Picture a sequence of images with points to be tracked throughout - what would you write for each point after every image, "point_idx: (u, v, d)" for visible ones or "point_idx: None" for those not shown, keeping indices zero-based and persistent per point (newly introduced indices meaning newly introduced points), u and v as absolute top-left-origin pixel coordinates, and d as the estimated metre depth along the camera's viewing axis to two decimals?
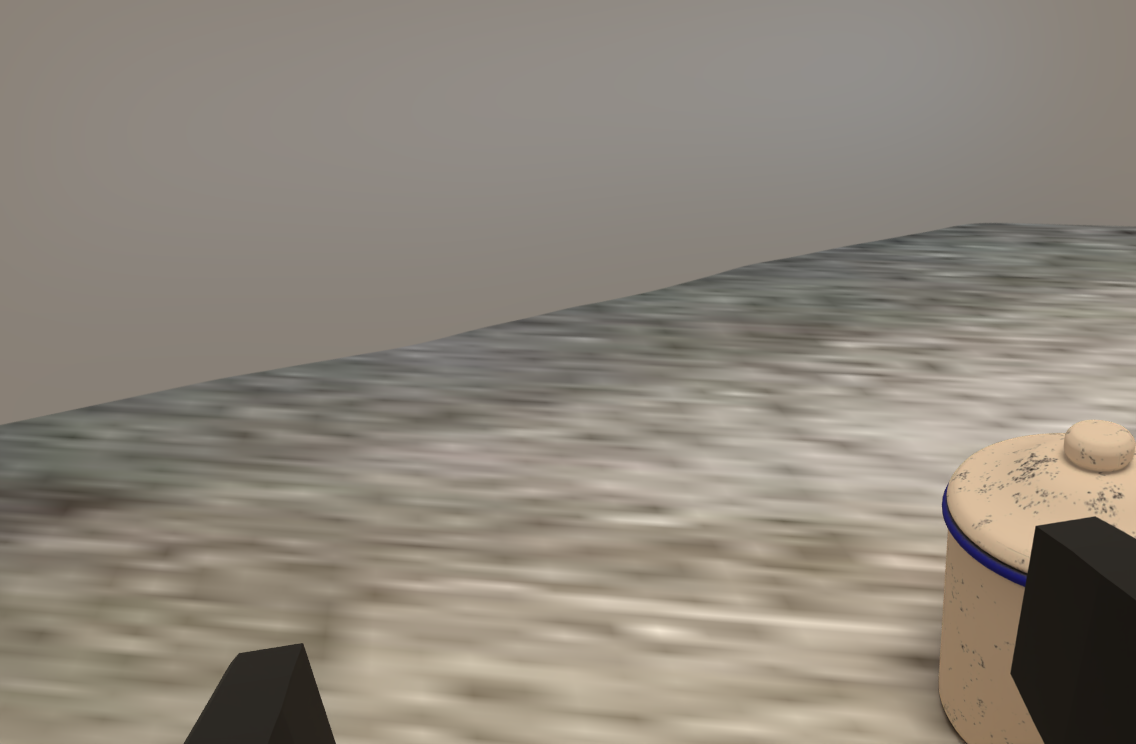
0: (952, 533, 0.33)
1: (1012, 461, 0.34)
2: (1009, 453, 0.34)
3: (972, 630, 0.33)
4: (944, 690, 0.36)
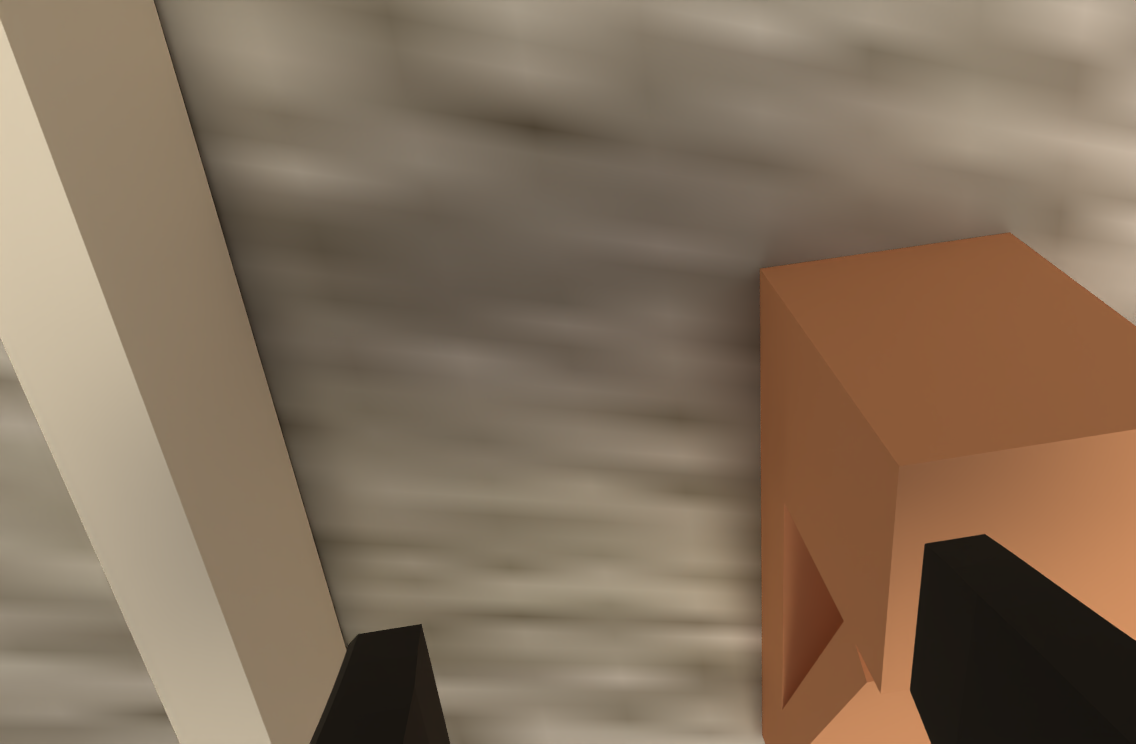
0: None
1: None
2: None
3: None
4: None
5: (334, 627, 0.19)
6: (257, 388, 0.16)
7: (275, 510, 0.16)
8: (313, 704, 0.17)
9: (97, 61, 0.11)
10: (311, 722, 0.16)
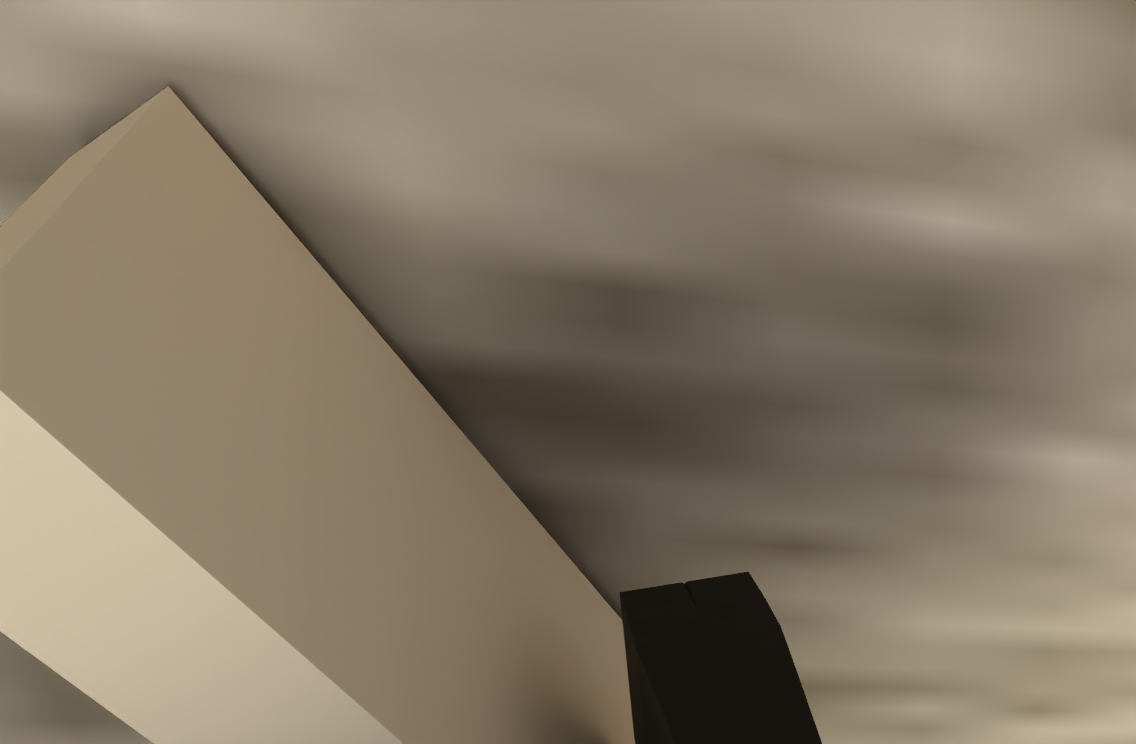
0: None
1: None
2: None
3: None
4: None
5: None
6: (577, 594, 0.12)
7: None
8: None
9: (209, 335, 0.07)
10: None
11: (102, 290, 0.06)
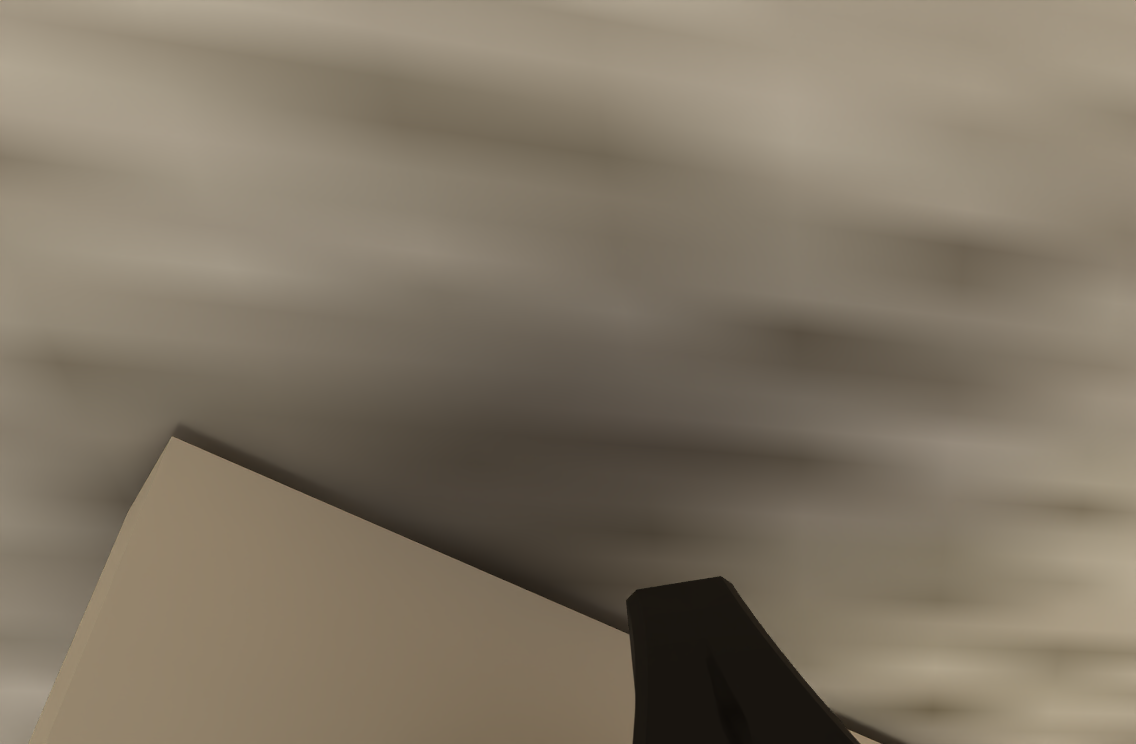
0: None
1: None
2: None
3: None
4: None
5: None
6: None
7: None
8: None
9: (241, 672, 0.09)
10: None
11: (135, 701, 0.08)
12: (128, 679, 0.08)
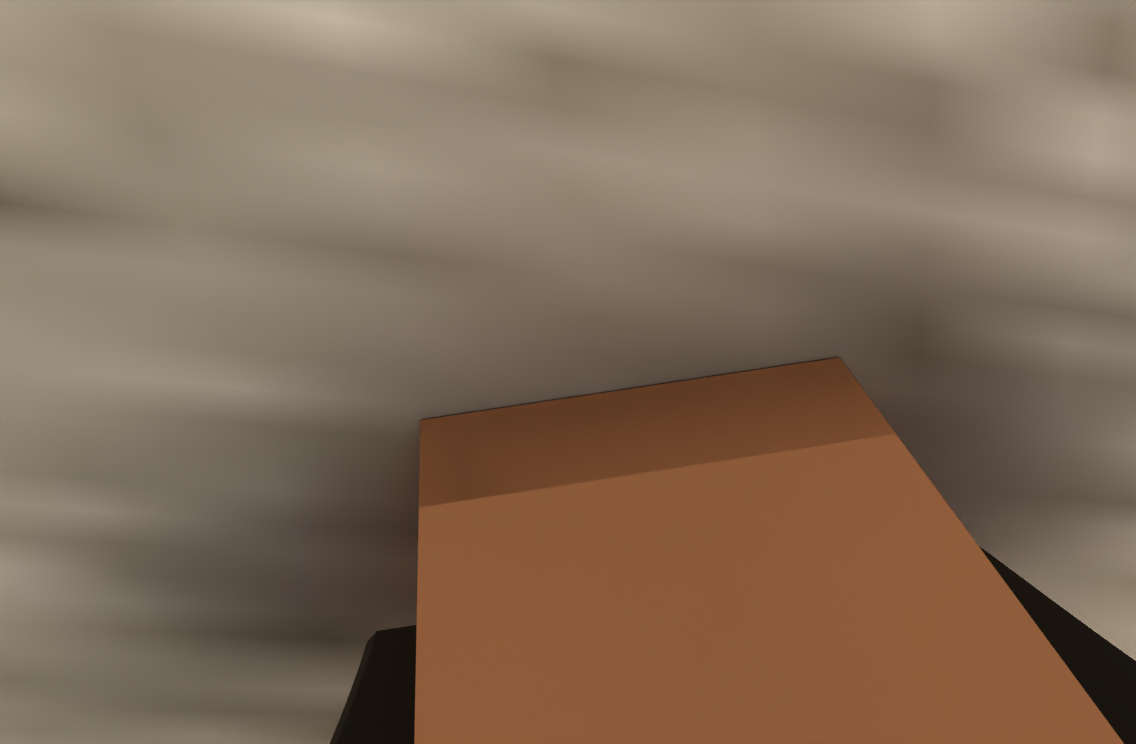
0: None
1: None
2: None
3: None
4: None
5: None
6: None
7: None
8: None
9: None
10: None
11: None
12: None
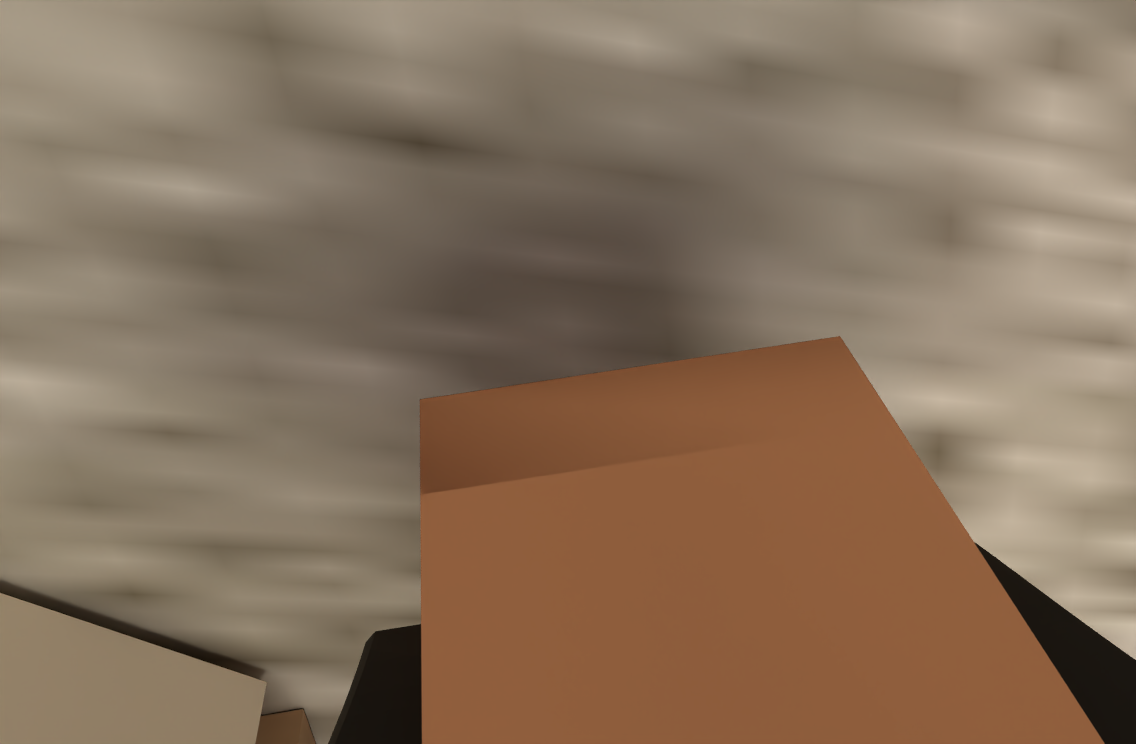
0: None
1: None
2: None
3: None
4: None
5: (158, 660, 0.20)
6: None
7: None
8: None
9: None
10: None
11: None
12: None
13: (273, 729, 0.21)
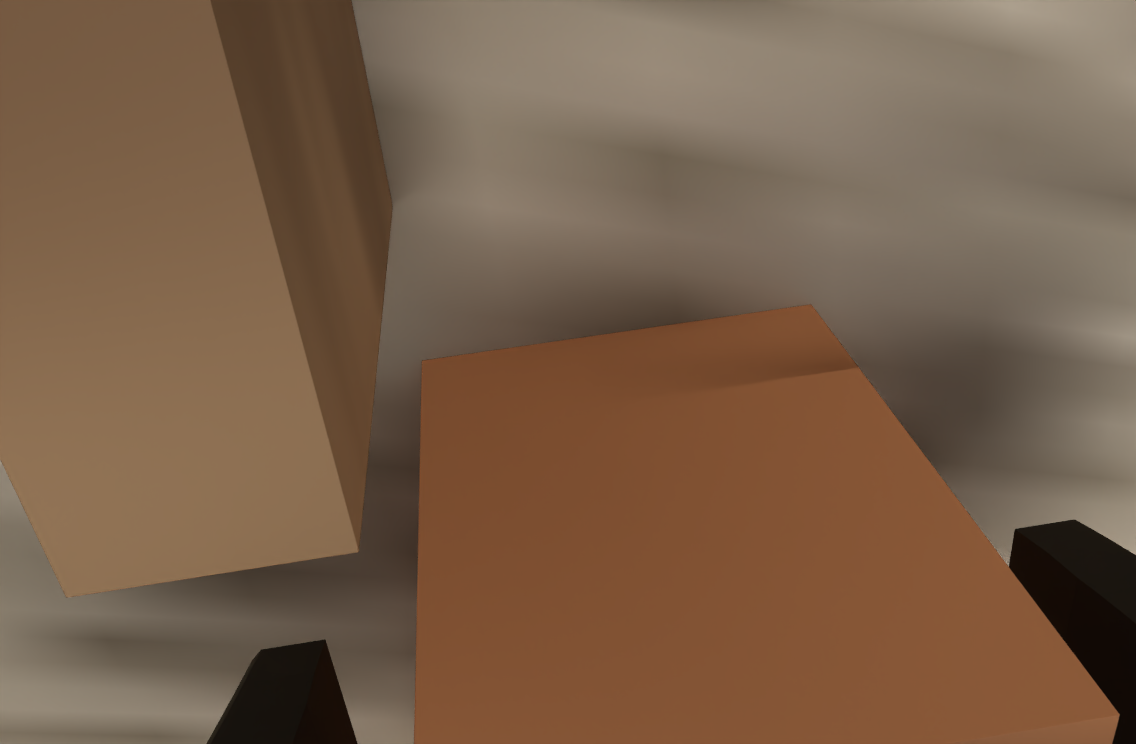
0: None
1: None
2: None
3: None
4: None
5: None
6: None
7: None
8: None
9: None
10: None
11: None
12: None
13: None
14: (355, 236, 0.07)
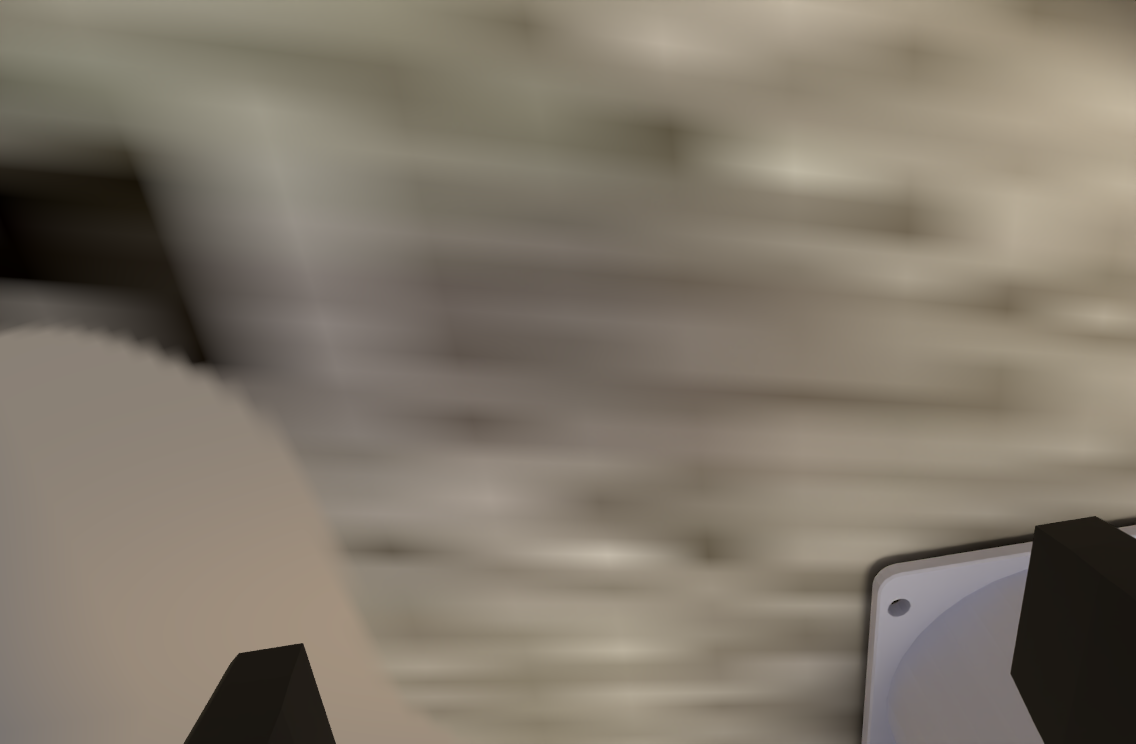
0: None
1: None
2: None
3: None
4: None
5: None
6: None
7: None
8: None
9: None
10: None
11: None
12: None
13: None
14: None
